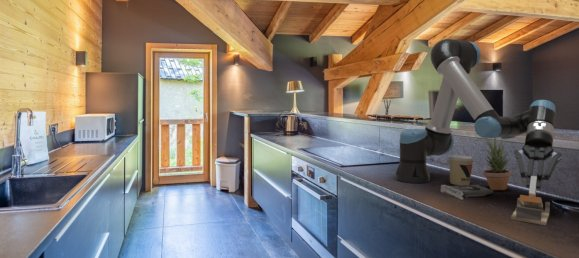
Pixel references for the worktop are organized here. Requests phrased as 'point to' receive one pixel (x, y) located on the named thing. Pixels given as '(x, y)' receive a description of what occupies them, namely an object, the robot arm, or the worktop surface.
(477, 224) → the worktop surface
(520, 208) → the base
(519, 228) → the worktop surface
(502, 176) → the potted plant
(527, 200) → the latch lever
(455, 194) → the graphics card
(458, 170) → the coffee cup
